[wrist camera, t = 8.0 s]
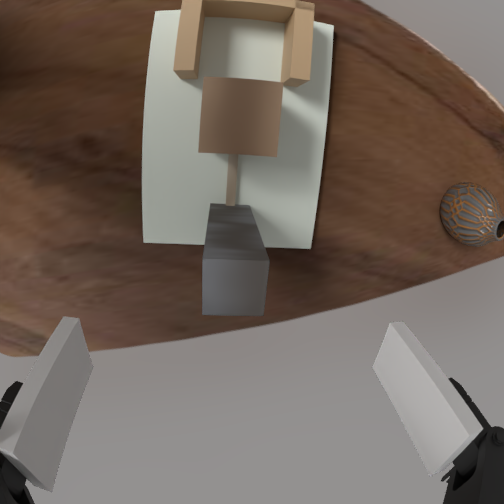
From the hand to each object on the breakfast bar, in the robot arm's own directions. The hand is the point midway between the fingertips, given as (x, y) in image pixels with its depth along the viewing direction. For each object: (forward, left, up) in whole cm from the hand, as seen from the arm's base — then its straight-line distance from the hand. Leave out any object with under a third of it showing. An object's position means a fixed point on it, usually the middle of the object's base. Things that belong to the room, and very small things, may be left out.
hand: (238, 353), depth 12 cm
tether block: (0, +5, -17) cm, 18 cm away
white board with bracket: (0, +9, -18) cm, 20 cm away
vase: (+26, +4, -19) cm, 32 cm away
